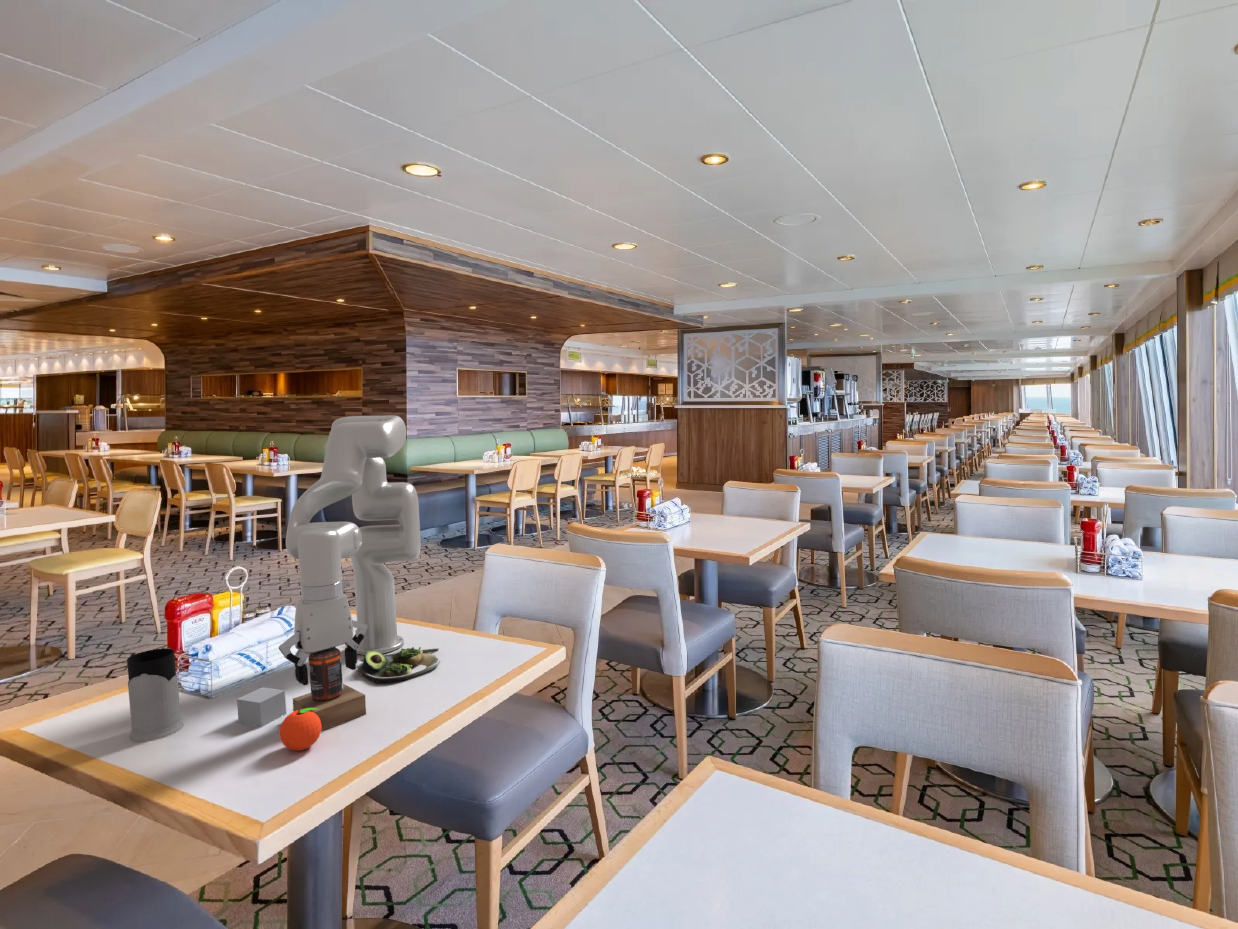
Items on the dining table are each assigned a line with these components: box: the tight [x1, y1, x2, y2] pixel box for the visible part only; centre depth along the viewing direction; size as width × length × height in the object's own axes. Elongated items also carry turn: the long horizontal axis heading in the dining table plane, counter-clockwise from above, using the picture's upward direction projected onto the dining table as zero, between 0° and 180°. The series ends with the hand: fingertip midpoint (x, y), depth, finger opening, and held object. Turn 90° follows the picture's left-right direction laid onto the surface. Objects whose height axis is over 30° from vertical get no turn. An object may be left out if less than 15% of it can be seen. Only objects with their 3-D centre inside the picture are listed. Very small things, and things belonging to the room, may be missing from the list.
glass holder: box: [126, 647, 185, 742], centre depth 134 cm, size 9×14×15 cm, turn 15°
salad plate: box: [357, 646, 441, 684], centre depth 162 cm, size 19×18×5 cm
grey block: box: [236, 686, 287, 728], centre depth 135 cm, size 6×6×5 cm
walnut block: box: [292, 683, 367, 732], centre depth 136 cm, size 10×10×4 cm
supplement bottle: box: [307, 646, 344, 701], centre depth 135 cm, size 6×6×11 cm
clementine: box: [278, 708, 325, 751], centre depth 123 cm, size 8×7×7 cm
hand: (327, 675), depth 135 cm, fingers open, 9 cm apart
